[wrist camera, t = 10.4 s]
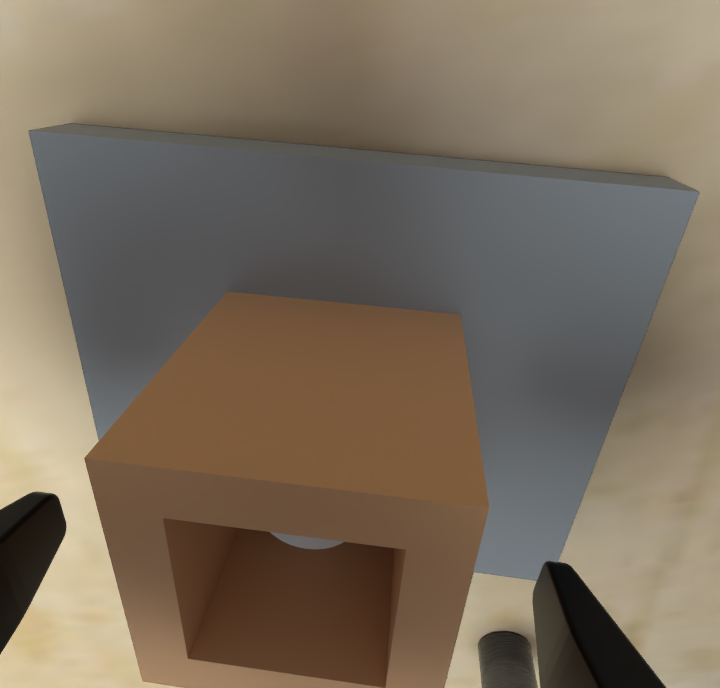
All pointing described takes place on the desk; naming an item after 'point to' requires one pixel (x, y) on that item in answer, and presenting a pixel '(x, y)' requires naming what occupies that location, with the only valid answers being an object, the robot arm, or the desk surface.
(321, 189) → the board
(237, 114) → the desk surface
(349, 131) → the desk surface
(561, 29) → the desk surface
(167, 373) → the brown square box
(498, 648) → the dark grey cylinder
